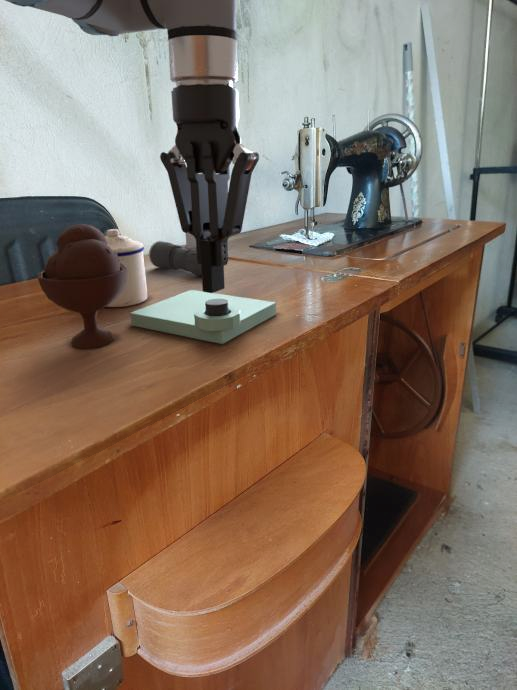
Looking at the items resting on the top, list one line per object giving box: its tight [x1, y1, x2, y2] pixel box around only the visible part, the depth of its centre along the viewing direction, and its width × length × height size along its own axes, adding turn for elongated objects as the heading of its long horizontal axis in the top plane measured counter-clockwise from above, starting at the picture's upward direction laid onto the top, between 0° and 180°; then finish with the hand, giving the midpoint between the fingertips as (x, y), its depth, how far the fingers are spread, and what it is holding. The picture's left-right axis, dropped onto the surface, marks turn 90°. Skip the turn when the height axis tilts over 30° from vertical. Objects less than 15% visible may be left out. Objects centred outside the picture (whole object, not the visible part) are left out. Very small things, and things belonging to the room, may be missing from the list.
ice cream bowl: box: [37, 223, 127, 349], centre depth 66 cm, size 11×11×15 cm
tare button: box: [205, 299, 229, 316], centre depth 67 cm, size 3×3×2 cm
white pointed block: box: [185, 233, 196, 250], centre depth 130 cm, size 4×7×10 cm, turn 174°
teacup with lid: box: [104, 228, 148, 308], centre depth 84 cm, size 12×9×12 cm
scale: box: [129, 289, 277, 345], centre depth 74 cm, size 17×15×4 cm
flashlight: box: [148, 240, 202, 278], centre depth 104 cm, size 15×5×5 cm, turn 48°
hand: (213, 289), depth 66 cm, fingers closed
